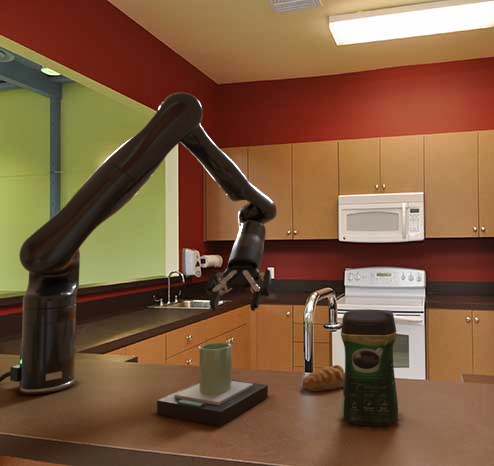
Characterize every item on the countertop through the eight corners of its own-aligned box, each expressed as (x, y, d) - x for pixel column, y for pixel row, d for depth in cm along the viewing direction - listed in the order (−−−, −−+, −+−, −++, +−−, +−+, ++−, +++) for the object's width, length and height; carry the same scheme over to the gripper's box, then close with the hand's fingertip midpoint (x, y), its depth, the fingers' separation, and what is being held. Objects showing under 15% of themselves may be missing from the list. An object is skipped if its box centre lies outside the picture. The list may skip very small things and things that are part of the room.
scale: (156, 414, 71) (156, 396, 72) (211, 388, 84) (211, 374, 85) (220, 426, 66) (220, 407, 66) (267, 397, 79) (267, 381, 79)
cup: (192, 392, 74) (192, 348, 74) (213, 382, 79) (214, 341, 80) (217, 396, 72) (217, 350, 72) (238, 385, 77) (238, 343, 77)
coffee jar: (399, 410, 72) (398, 306, 73) (396, 430, 65) (395, 313, 65) (346, 407, 74) (345, 305, 75) (337, 425, 66) (336, 312, 67)
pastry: (313, 395, 80) (312, 376, 80) (295, 387, 85) (295, 368, 85) (349, 385, 86) (349, 367, 86) (331, 378, 91) (331, 361, 91)
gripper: (214, 244, 97) (196, 298, 85) (273, 244, 97) (263, 297, 85) (221, 265, 102) (204, 318, 90) (277, 265, 102) (268, 318, 90)
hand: (233, 308), depth 88 cm, fingers open, 8 cm apart
